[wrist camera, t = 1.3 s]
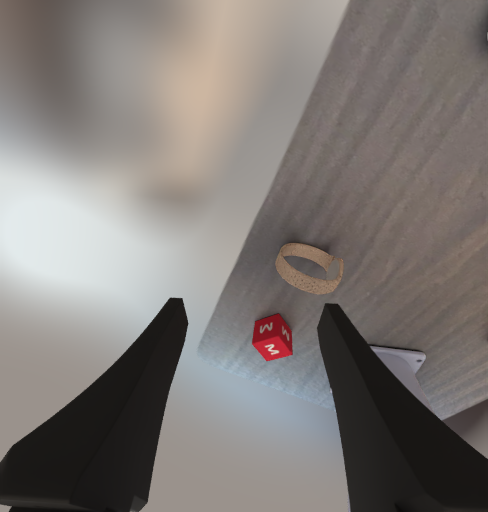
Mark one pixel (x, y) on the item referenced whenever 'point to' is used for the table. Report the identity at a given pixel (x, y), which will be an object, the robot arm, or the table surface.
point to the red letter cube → (272, 338)
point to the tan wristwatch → (310, 285)
